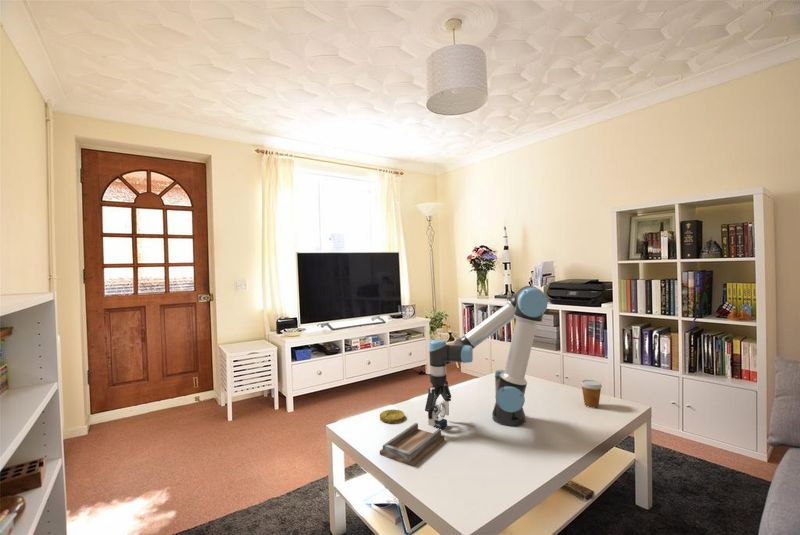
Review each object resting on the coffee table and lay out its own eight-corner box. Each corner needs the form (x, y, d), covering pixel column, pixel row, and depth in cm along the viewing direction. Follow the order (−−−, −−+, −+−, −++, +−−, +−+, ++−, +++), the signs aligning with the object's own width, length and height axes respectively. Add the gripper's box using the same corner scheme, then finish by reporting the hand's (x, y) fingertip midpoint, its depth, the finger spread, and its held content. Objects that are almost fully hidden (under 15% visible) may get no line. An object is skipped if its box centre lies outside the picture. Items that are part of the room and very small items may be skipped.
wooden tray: (444, 439, 160) (444, 430, 160) (413, 466, 140) (413, 455, 140) (412, 430, 169) (412, 422, 169) (379, 454, 149) (379, 444, 149)
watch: (429, 427, 172) (428, 403, 171) (440, 422, 177) (439, 398, 177) (438, 431, 168) (438, 407, 167) (449, 425, 173) (449, 401, 173)
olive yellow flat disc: (400, 425, 176) (400, 420, 176) (376, 422, 179) (376, 418, 179) (407, 415, 187) (407, 410, 187) (384, 412, 191) (384, 408, 190)
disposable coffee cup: (602, 404, 193) (602, 381, 192) (601, 410, 185) (600, 386, 184) (582, 401, 198) (582, 378, 197) (580, 407, 190) (579, 383, 189)
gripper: (444, 366, 184) (444, 408, 185) (416, 380, 164) (417, 428, 164) (457, 368, 180) (458, 412, 180) (431, 383, 160) (432, 432, 160)
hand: (439, 420), depth 172 cm, fingers open, 13 cm apart
